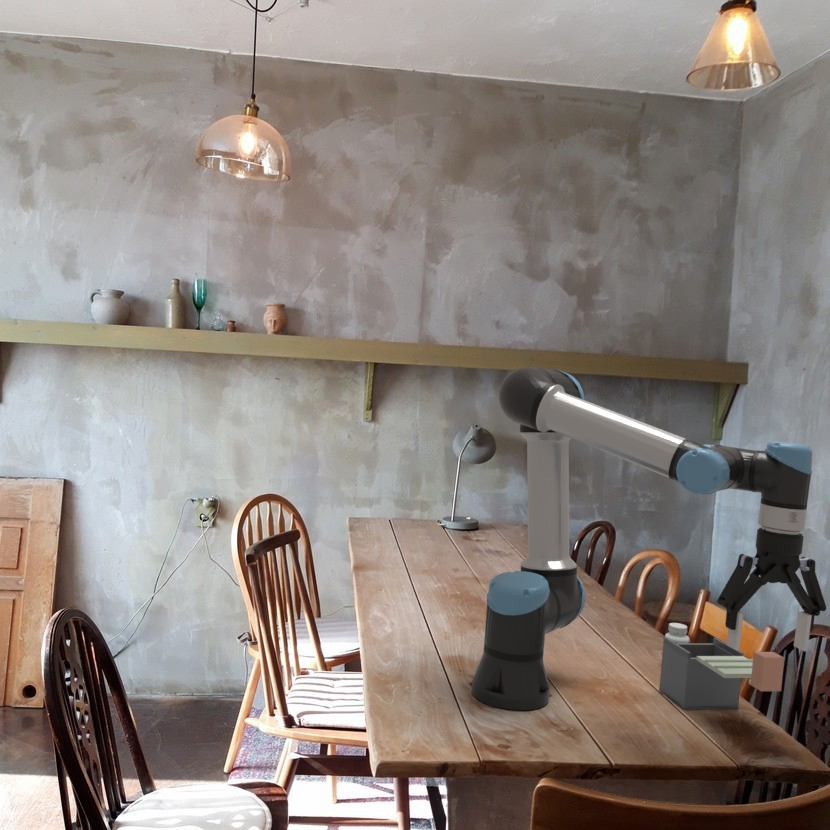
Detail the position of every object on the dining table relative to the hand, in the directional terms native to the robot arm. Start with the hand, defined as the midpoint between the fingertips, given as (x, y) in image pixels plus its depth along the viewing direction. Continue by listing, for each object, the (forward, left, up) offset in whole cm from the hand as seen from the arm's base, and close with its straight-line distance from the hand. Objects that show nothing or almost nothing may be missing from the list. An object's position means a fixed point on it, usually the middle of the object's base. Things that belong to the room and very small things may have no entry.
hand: (767, 648), depth 147 cm
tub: (0, +20, -17) cm, 27 cm away
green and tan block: (0, +6, -7) cm, 9 cm away
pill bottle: (+5, +38, -18) cm, 42 cm away
